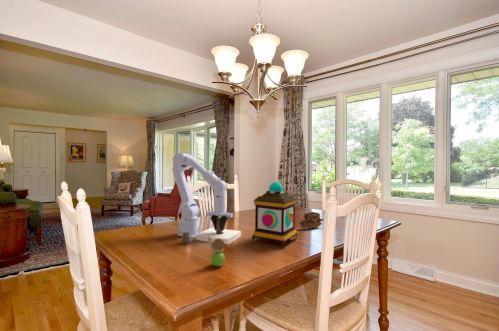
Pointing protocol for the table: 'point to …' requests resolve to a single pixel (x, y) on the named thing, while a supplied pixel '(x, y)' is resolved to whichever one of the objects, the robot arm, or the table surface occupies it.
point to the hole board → (219, 235)
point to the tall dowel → (218, 226)
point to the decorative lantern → (275, 215)
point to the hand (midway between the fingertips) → (219, 230)
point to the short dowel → (185, 238)
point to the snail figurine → (217, 251)
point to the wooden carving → (311, 220)
